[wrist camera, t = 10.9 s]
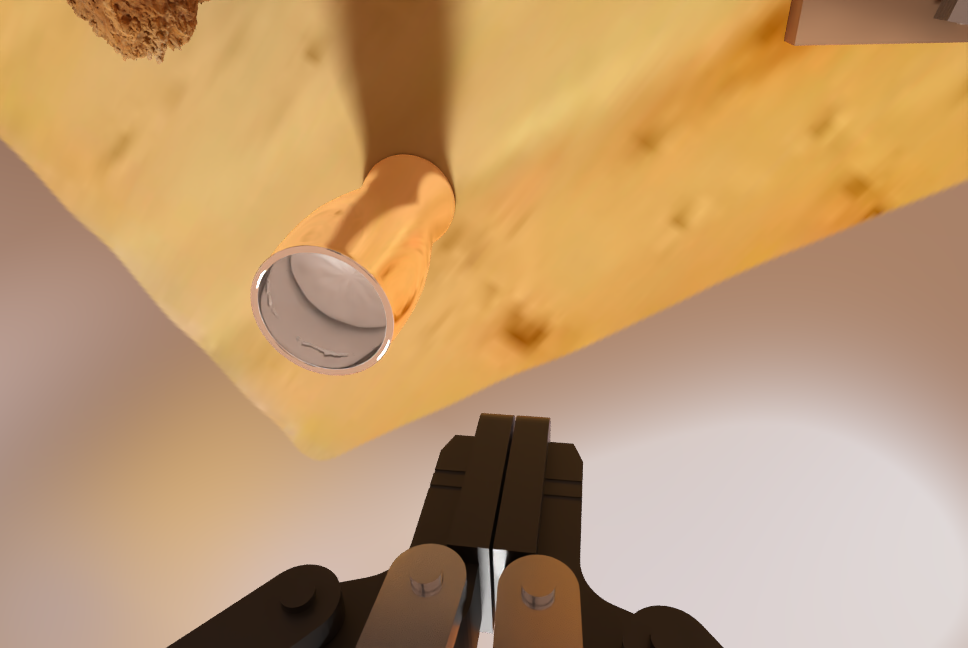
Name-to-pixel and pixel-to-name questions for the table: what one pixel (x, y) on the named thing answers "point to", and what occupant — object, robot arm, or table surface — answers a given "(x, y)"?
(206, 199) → the table surface
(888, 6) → the stand
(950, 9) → the capstan
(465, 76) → the table surface
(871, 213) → the table surface
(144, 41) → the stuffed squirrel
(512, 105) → the table surface
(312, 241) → the beer glass
